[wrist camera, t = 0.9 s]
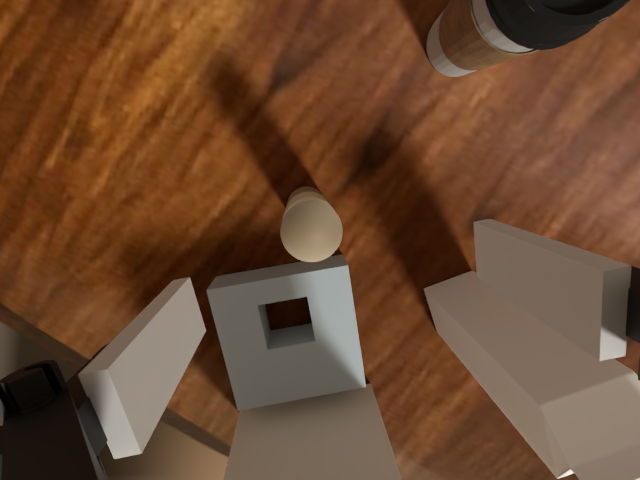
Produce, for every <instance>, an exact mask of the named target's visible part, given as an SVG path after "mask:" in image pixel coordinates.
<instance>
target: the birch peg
mask: <svg viewBox="0 0 640 480" xmlns="http://www.w3.org/2000/svg"><path fill="white" fill-rule="evenodd" d="M280 234H281V240H282V243H283V245H284V247H285V249H286V250H287V251H288V252H289V253H290V254H291V255H292V256H293V257H295V258H296V259H298V260H301V261H304V262H318V261H322V260H324V259H326V258H328V257H329V256H331V255H332V254H333V253H334V252H335V251H336V250H337V248H338V247H339V245H340V243H341V240H342V235H343V229H342V223H341V220H340V218H339V216H338V215H337V213H336V212H335V211H334V209H333V208H332V207H331V205H330V204H329V203H328V201H327V200H326V199H325V197H324V196H323V195H322V193H321V192H320V191H319V190H317V189H316V188H314V187H311V186H302V187H299V188H297V189H295V190H294V191H293V192H292V193H291V194H290V196H289V198H288V202H287V206H286V209H285V213H284V217H283V220H282V224H281V229H280Z"/></svg>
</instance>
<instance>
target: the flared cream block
mask: <svg viewBox="0 0 640 480" xmlns="http://www.w3.org/2000/svg"><path fill="white" fill-rule="evenodd" d="M224 480H402V478H401V475H400V471H399V468H398V465H397V462H396V459H395V456H394V453H393V450H392V447H391V444H390V441H389V438H388V435H387V432H386V429H385V426H384V423H383V420H382V417H381V413H380V410H379V407H378V404H377V401H376V398H375V395H374V392H373V389H372V386H371V383H370V384H366V387H363V388H358V389H353V390H347V391H342V392H337V393H331V394H326V395H320V396H315V397H310V398H304V399H299V400H294V401H288V402H283V403H277V404H272V405H267V406H261V407H256V408H250V409H245V410H240V412H239V417H238V421H237V425H236V429H235V434H234V438H233V442H232V447H231V451H230V455H229V459H228V464H227V468H226V473H225V476H224Z"/></svg>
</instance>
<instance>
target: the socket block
mask: <svg viewBox="0 0 640 480" xmlns="http://www.w3.org/2000/svg"><path fill="white" fill-rule="evenodd" d="M206 291H207V295H208V299H209V303H210V307H211V310H212V314H213V318H214V322H215V326H216V329H217V333H218V337H219V341H220V345H221V348H222V352H223V356H224V360H225V364H226V367H227V371H228V375H229V379H230V383H231V387H232V390H233V394H234V398H235V402H236V406H237V409H238V411H240V410H245V409H250V408H256V407H261V406H267V405H272V404H277V403H283V402H288V401H294V400H299V399H304V398H310V397H315V396H320V395H326V394H331V393H337V392H342V391H347V390H353V389H358V388H363V387H366V382H365V375H364V369H363V362H362V355H361V349H360V342H359V335H358V329H357V322H356V315H355V309H354V302H353V295H352V289H351V282H350V275H349V269H348V264H347V262H346V260H345V258H344V256H343V254H341V255H335V256H330V257H328V258H326V259H324V260H322V261H318V262H304V261H301V262H295V263H290V264H284V265H278V266H273V267H267V268H261V269H255V270H250V271H244V272H238V273H233V274H227V275H221V276H216V277H215V279H214V280H213V281H212V283H211V284H210V286H209V287H208V288H207V290H206ZM302 297H307V299H308V304H309V310H310V315H311V320H312V323H310V324H304V325H299V326H293V327H288V328H282V329H277V330H270V326H269V321H268V317H267V312H266V307H265V304H269V303H274V302H280V301H286V300H291V299H297V298H302Z"/></svg>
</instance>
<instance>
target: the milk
mask: <svg viewBox="0 0 640 480" xmlns="http://www.w3.org/2000/svg"><path fill="white" fill-rule="evenodd" d="M424 292H425V296H426V299H427V302H428V305H429V308H430V312H431V315H432V318H433V321H434V324H435V328H436V331H437V333H438V334H439V335H440V336H441V337H442V339H443V340H444V341H445V342H446V344H447V345H448V346H449V347H450V348H451V350H452V351H453V352H454V353H455V355H456V356H457V357H458V358H459V359H460V361H461V362H462V363H463V364H464V366H465V367H466V368H467V369H468V370H469V372H470V373H471V374H472V375H473V377H474V378H475V379H476V380H477V381H478V383H479V384H480V385H481V386H482V388H483V389H484V390H485V391H486V392H487V394H488V395H489V396H490V397H491V399H492V400H493V401H494V402H495V403H496V405H497V406H498V407H499V408H500V410H501V411H502V412H503V413H504V414H505V416H506V417H507V418H508V419H509V421H510V422H511V423H512V424H513V425H514V427H515V428H516V429H517V430H518V432H519V433H520V434H521V435H522V436H523V438H524V439H525V440H526V441H527V443H528V444H529V445H530V446H531V447H532V449H533V450H534V451H535V452H536V454H537V455H538V456H539V457H540V458H541V460H542V461H543V462H544V463H545V465H546V466H547V467H548V468H549V469H550V471H551V472H552V473H553V474H554V476H555V477H556V478H557V479H559V478H562V477H565V476H567V475H570V474H573V473H574V474H575V475H576V476H577V477H578V478H579V479H580V480H639V479H640V380H638V376H637V375H636V373H635V372H634V371H632V370H631V369H629V368H628V367H626V366H624V365H623V364H621V363H620V362H618V361H616V360H615V359H608V360H603V361H598V360H597V359H596V358H594V357H593V356H591V355H590V354H588V353H587V352H585V351H584V350H582V349H581V348H579V347H578V346H576V345H575V344H574V343H572V342H571V341H569V340H568V339H566V338H565V337H563V336H562V335H560V334H559V333H557V332H556V331H555V330H553V329H552V328H550V327H549V326H547V325H546V324H544V323H543V322H541V321H540V320H538V319H537V318H535V317H534V316H533V315H531V314H530V313H528V312H527V311H525V310H524V309H522V308H521V307H519V306H518V305H516V304H515V303H513V302H512V301H511V300H509V299H508V298H506V297H505V296H503V295H502V294H500V293H499V292H497V291H496V290H494V289H493V288H492V287H490V286H489V285H487V284H486V283H484V282H483V281H481V280H480V279H478V278H477V273H475V272H473V271H469V272H466V273H464V274H461V275H458V276H456V277H453V278H450V279H448V280H445V281H442V282H439V283H437V284H434V285H431V286H429V287H426V288H424Z"/></svg>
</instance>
